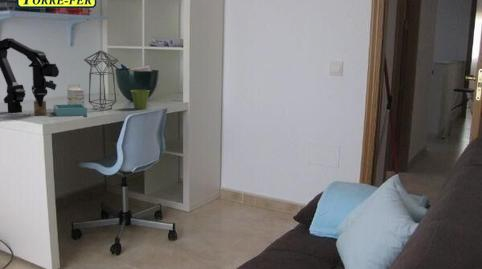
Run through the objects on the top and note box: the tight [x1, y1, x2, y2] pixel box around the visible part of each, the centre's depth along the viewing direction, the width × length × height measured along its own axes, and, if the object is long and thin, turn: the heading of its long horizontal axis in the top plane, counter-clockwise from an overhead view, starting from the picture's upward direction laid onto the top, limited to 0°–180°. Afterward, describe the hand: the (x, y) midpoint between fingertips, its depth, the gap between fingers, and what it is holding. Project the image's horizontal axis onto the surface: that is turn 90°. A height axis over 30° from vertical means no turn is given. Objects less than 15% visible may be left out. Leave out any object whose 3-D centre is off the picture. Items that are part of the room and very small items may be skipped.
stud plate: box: [29, 112, 52, 117], centre depth 253 cm, size 10×10×5 cm
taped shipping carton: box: [33, 100, 47, 115], centre depth 252 cm, size 5×5×7 cm
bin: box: [53, 104, 88, 118], centre depth 260 cm, size 15×15×5 cm
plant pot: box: [130, 89, 150, 110], centre depth 296 cm, size 12×12×11 cm
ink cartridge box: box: [67, 83, 85, 106], centre depth 284 cm, size 9×5×15 cm, turn 141°
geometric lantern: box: [83, 50, 119, 111], centre depth 284 cm, size 16×16×35 cm
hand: (39, 105), depth 252 cm, fingers open, 9 cm apart
